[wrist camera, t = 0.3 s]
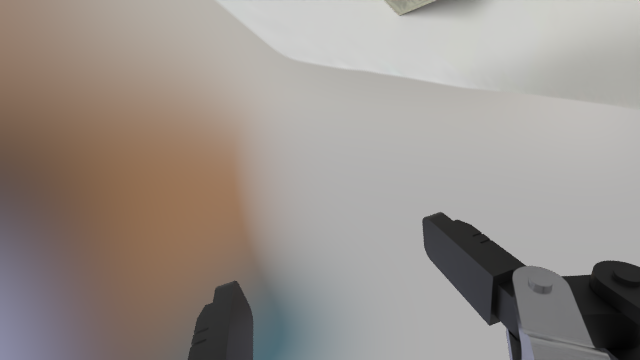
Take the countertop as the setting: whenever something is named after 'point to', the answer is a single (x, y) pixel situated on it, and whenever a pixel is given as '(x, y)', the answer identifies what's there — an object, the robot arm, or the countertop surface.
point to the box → (406, 5)
